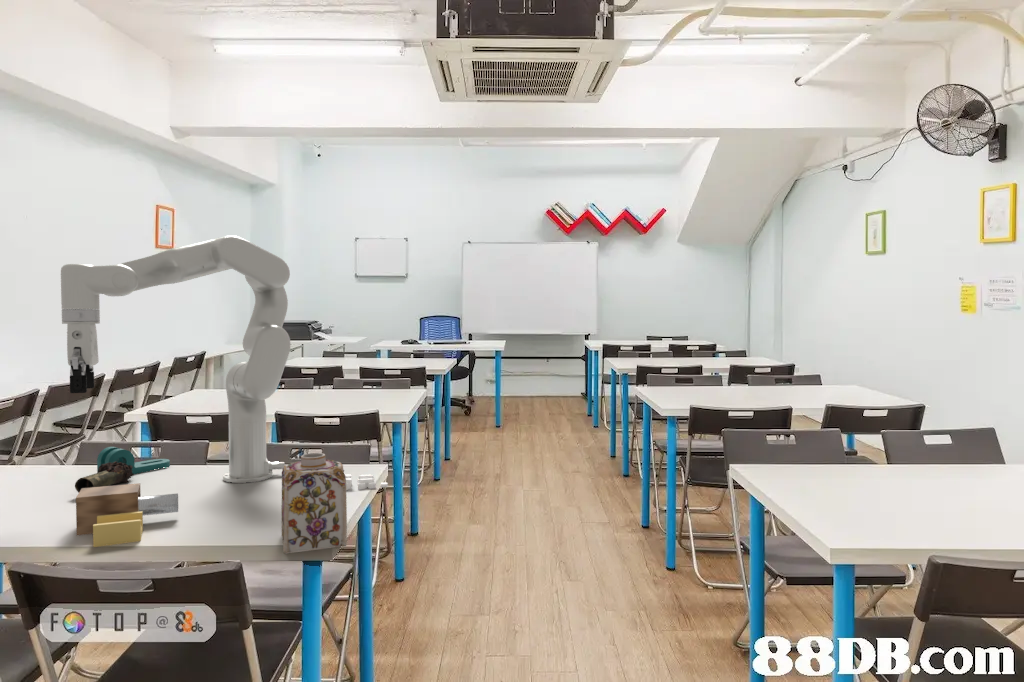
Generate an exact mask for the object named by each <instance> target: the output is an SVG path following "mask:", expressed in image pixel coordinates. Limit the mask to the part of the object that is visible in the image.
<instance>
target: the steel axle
mask: <svg viewBox="0 0 1024 682" xmlns="http://www.w3.org/2000/svg"><path fill="white" fill-rule="evenodd" d="M138 508H139V512H140V511H143V516H151V515H153V516H154V515H161V514H162V515H163V514H172V513H179V492H177V493H168V494H157V495H146V496H141V497H138Z"/></svg>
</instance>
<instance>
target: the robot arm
mask: <svg viewBox="0 0 1024 682" xmlns="http://www.w3.org/2000/svg"><path fill="white" fill-rule="evenodd" d="M228 270H233V271H235V272H237V273H239V274H241V275H243V276H244V277H245V280H246V282H247V284H248V286H250V288H251V290H252V291H253V293H254V301H255V302H254V306H253V309H252V310H253V311H252V312H251V313H252V314H251V317H250V319H249V322H248V325H247V328H246V330H245V333H244V335H243V338H242V347H243V351H244V352H245V353H246V354H247V355H248V356H249V358H248V361H241V362H238V363H235V364H234V365H233V366H231V367H230V369H229V370H228V371H227V374H226V377H225V391H226V397H227V407H228V472H226V473H224V474H223V475H222V480H223V481H224V482H226V483H230V482H232V483H233V484H247V483H246V482H251V483H256V481H258V482H262V481H261V480H263V481H266V480H269V479H271V478H272V477H273V476H272V475H274V474H273V470H283V467H284V466H285V465H286V464H285V462H284V461H280V462H279V461H269V460H268V458H267V407H266V399H268V398H270V397H271V396H273V394H275V392H276V391H277V389H278V386H279V384H280V382H281V379H282V376H283V373H284V370H285V367H286V365H287V362H288V359H289V354H290V351H291V338H290V335H289V333H288V332H287V330H285V328H283V325H284V322H285V319H286V316H287V312H288V306H289V303H288V301H289V300H288V295H287V292H286V289H285V285H286V284H287V283H288V282H289V279H290V275H291V274H290V267H289V266H288V264H287V263H286V261H285V260H283V259H282V258H281V257H280V256H277V254H273V253H272V252H270V251H269V250H266V249H264V248H261V247H260V246H258V245H256V244H254V243H253V242H251V241H249V240H247V239H245V238H243V237H240V236H237V235H225V236H221V237H217V238H213V239H208V240H204V241H199V242H197V243H192V244H188V245H183V246H179V247H175V248H170V249H167V250H164V251H161V252H158V253H156V254H151V255H148V256H145V257H142V258H138V259H134V260H129V261H126V262H121V263H117V264H109V265H93V264H85V263H68V264H67V263H66V264H64V265H63V266H61V269H60V297H61V298H60V299H61V300H60V301H61V302H60V303H61V324H62V325H66V326H67V327H66V328H67V329H66V351H67V353H66V354H67V364H68V366H70V370H69V392H70V394H85V393H87V392H88V389H94V388H95V371H94V366H95V365H97V364H98V363H99V360H100V359H99V346H98V345H99V344H98V332H97V326H96V324H101V321H100V318H101V317H100V316H101V315H100V313H101V311H100V306H101V305H100V295H105V296H108V297H113V298H114V297H124V296H127V295H130V294H132V293H133V292H137V291H140V290H144V289H148V288H152V287H158V286H162V285H163V286H164V285H170V284H171V285H173V284H177V283H178V284H179V283H183V282H187V281H190V280H195V279H198V278H201V277H206V276H210V275H213V274H217V273H220V272H224V271H225V272H226V271H228ZM271 476H272V477H271ZM270 477H271V478H270ZM268 478H269V479H268ZM265 479H266V480H265ZM232 483H231V484H232Z"/></svg>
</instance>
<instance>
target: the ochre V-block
mask: <svg viewBox="0 0 1024 682" xmlns="http://www.w3.org/2000/svg"><path fill="white" fill-rule="evenodd" d="M143 519H144V517H143V511H140V512H130V513H120V514H111V515H101V516H97V524H94V525H93V534H92V535H93V536H92V539H93V543H92V544H93V545H92V546H93V548H99V547H105V546H107V547H108V546H112V545H122V544H127V543H128V544H130V543H137V542H141V541H142V536H143V531H144V525H143V523H144V520H143Z"/></svg>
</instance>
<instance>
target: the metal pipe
mask: <svg viewBox="0 0 1024 682" xmlns="http://www.w3.org/2000/svg"><path fill="white" fill-rule="evenodd" d="M132 468H133V466H131V465H127V464H125V463H122V462H120V463H117V461H116V462H112V463H111V462H108V463H106V464H102V465H101V466H99V468H98V472H97V473H93V474H89V475H85V476H83V477H80V478H78V479H77V480H76V482H75V483H74V488H75V491H76V492H78V493H79V492H80V490H81V489H82V488H91V487H103V486H114V485H119V484H123V483H124V484H125V483H128V482H129V481H128V480H129V479H131V478H132V477H133V476H135V474H133V473H132Z"/></svg>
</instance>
